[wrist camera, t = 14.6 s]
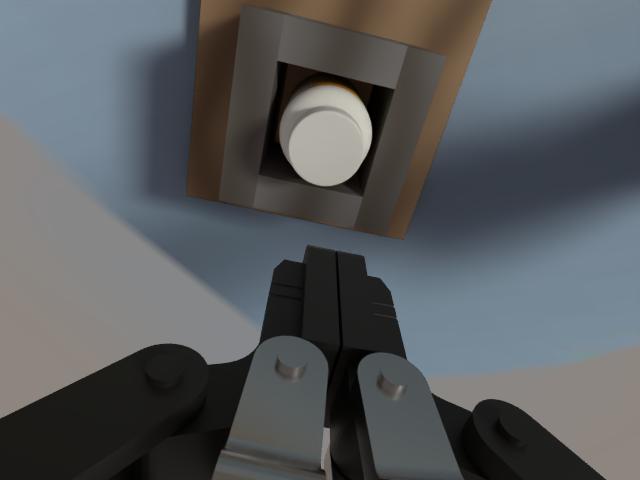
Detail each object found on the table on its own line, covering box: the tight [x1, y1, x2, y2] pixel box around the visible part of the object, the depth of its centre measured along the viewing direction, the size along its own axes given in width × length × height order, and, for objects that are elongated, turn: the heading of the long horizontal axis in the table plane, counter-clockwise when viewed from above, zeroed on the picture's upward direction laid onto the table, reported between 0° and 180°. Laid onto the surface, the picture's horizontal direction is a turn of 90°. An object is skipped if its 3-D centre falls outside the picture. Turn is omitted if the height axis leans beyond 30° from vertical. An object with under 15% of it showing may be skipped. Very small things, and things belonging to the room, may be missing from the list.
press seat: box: [275, 63, 373, 143], centre depth 30 cm, size 6×6×2 cm
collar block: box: [186, 0, 492, 240], centre depth 28 cm, size 19×19×10 cm
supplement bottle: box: [279, 72, 372, 186], centre depth 26 cm, size 5×5×10 cm
